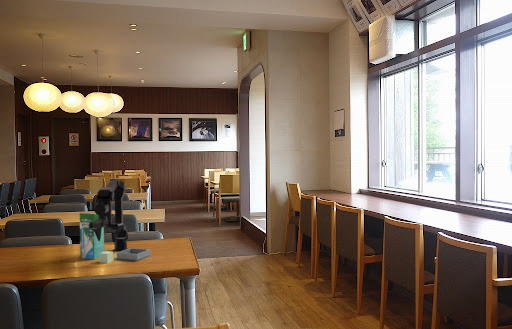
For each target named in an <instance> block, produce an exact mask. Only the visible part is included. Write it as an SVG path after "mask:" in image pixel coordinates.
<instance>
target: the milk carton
mask: <svg viewBox="0 0 512 329" xmlns="http://www.w3.org/2000/svg"><path fill="white" fill-rule="evenodd" d="M98 216H99V215H97V214H96V213H95V211H93V212H92V211H90V212H89V213H84V212H83V213H82V212H80V213H79V244H80V246H79V248H80V250H79V251H80V252H79V253H80V259H86V260H88V259H89V260H96V259H100V253H101V252H104V251H105V235H104V234H105V227H102V230H101V239H100V241H98V239H97V236H96V234H95V232H94V231H93V230H91V229H92V228H89V223H91V222H94V221H95V220H96V219H98Z"/></svg>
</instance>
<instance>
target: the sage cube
mask: <svg viewBox="0 0 512 329" xmlns="http://www.w3.org/2000/svg"><path fill="white" fill-rule="evenodd" d="M112 262H114V251H108V250H104V252H101V253H100V257H99V263H104V264H109V263H112Z"/></svg>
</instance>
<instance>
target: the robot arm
mask: <svg viewBox="0 0 512 329" xmlns="http://www.w3.org/2000/svg"><path fill="white" fill-rule="evenodd" d="M126 191H127V185H126V183H125V182H124V181H122V180H120V178H111V179H109V182H108V183H107V184H106V186H105V187H101V188H100V189H98V192H97V195H96V198H95V203H97V204H96V205H95V206H94V208H93V209H94V210H93V212H95V213H96V214H97V215H99V216H98V219H96V220H95V221H94V222H91V223H89V228H92V229H91V230H93V231H94V232H95V234H96V236H97V239H98V241H100V239H101V230H102V227H104V228H111V230H110V231H111V232H110V234H111V240H112V243H114V245H113V246H114V249H112V251H115V252H116V251H117V252H120V251H123V250H126V249H129V248H128V242H127V240H130V238H129V232H128V229H127V226H126V224H125V222H124V201H123V200H124V196H125V195H126ZM113 201H114V213H112V211H113V210H112V202H113ZM113 216H114V221H112V220H113V219H112V218H113Z"/></svg>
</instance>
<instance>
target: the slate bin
mask: <svg viewBox="0 0 512 329" xmlns="http://www.w3.org/2000/svg"><path fill="white" fill-rule="evenodd" d="M149 257H151V249H148V248H135V247H129V248H128V249H126V250H123V251H117V252H116V260H121V261H133V262H137V261H140V260H143V259H145V258H149Z"/></svg>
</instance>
